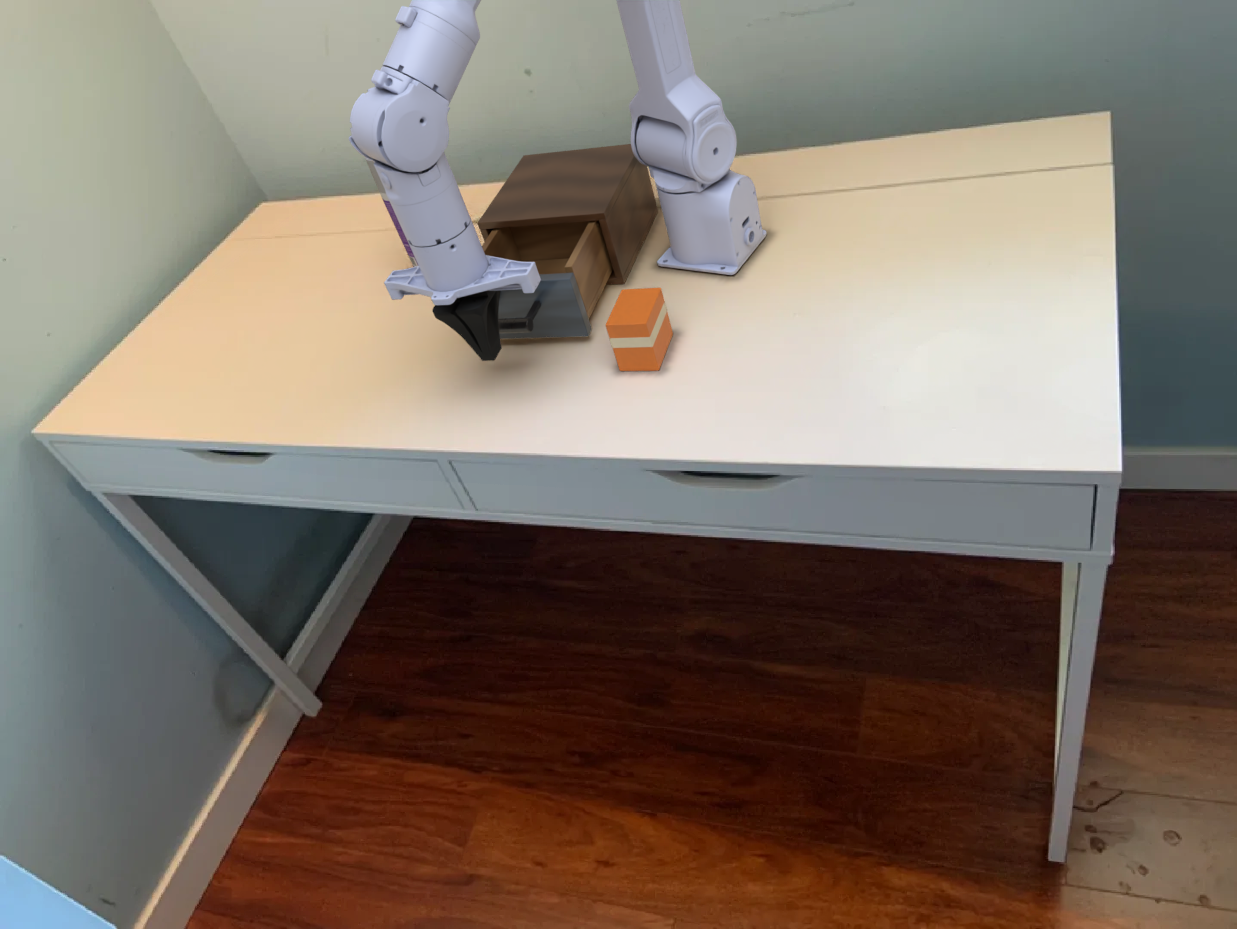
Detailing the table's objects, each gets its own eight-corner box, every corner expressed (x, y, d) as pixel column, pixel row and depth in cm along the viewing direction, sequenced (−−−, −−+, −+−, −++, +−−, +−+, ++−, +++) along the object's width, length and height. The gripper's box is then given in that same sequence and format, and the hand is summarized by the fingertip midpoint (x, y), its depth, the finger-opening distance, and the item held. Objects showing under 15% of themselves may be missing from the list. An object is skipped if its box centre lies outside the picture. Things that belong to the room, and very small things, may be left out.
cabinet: (624, 284, 102) (603, 212, 97) (503, 290, 108) (476, 223, 102) (658, 211, 112) (641, 142, 106) (545, 220, 117) (523, 155, 112)
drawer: (576, 363, 93) (555, 305, 88) (455, 365, 98) (430, 311, 93) (625, 259, 104) (609, 203, 100) (515, 266, 109) (495, 213, 105)
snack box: (659, 370, 90) (646, 323, 86) (619, 371, 92) (604, 325, 88) (673, 333, 94) (661, 287, 90) (634, 335, 95) (621, 288, 92)
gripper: (346, 260, 82) (408, 382, 91) (497, 249, 77) (547, 380, 86) (382, 215, 87) (438, 336, 95) (527, 203, 81) (571, 331, 90)
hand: (491, 354), depth 91 cm, fingers closed
